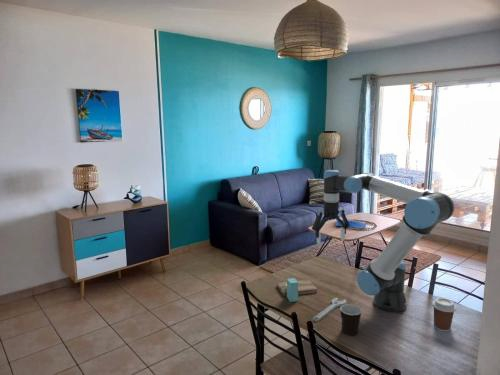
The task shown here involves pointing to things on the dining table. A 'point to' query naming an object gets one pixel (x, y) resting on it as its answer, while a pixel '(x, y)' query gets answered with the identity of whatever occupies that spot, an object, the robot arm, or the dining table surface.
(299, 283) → the walnut board
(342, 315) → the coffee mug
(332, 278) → the dining table surface
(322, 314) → the adjustable wrench
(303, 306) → the dining table surface
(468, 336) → the dining table surface
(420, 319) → the dining table surface
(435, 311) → the coffee cup
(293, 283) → the light blue block
